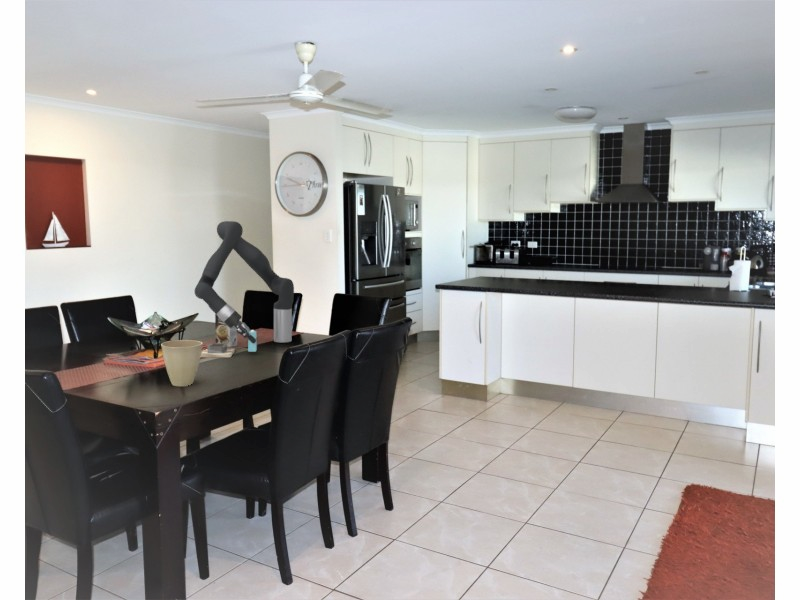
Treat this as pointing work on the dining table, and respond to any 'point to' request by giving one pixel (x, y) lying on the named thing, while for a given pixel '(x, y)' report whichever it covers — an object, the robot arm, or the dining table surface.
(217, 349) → the board
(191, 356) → the plant pot
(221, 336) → the coffee box
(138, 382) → the dining table surface
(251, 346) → the teal block
